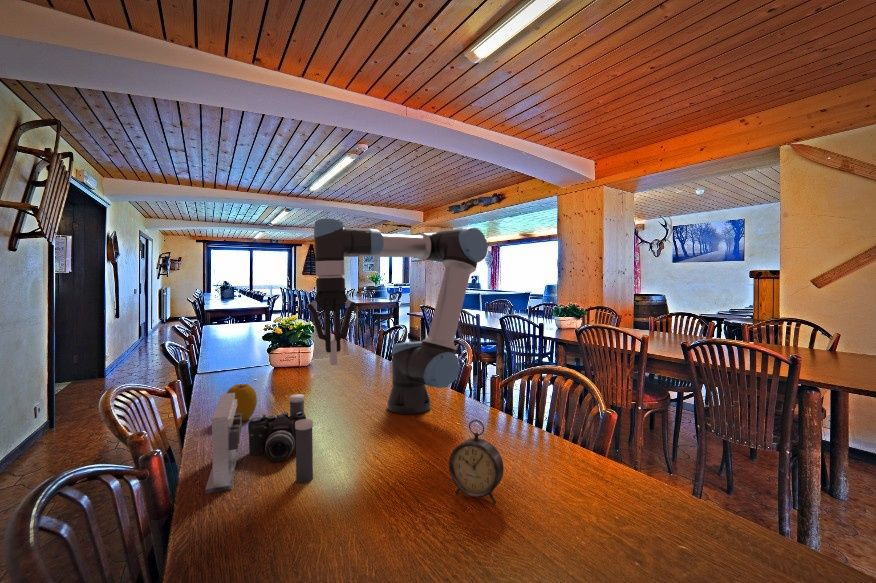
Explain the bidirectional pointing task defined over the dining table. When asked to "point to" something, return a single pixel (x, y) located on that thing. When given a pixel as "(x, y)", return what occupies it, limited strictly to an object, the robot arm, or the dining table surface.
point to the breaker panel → (224, 444)
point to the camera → (273, 435)
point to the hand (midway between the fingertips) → (333, 363)
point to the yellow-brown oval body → (244, 400)
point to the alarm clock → (476, 466)
